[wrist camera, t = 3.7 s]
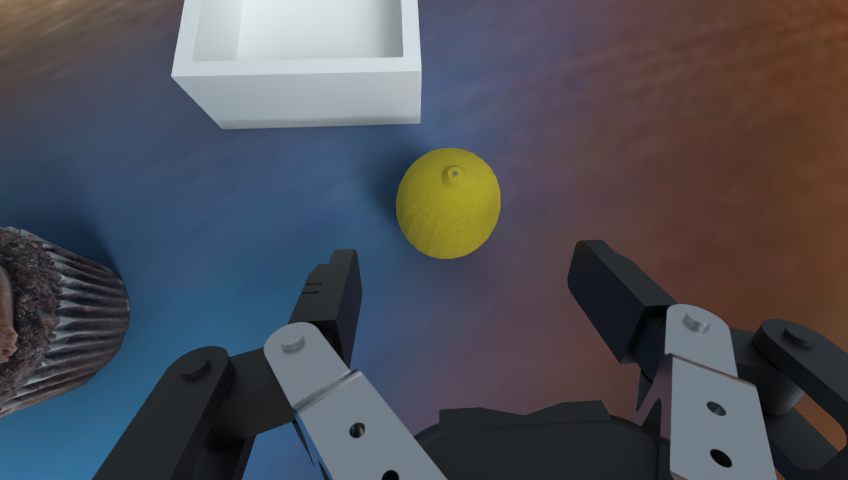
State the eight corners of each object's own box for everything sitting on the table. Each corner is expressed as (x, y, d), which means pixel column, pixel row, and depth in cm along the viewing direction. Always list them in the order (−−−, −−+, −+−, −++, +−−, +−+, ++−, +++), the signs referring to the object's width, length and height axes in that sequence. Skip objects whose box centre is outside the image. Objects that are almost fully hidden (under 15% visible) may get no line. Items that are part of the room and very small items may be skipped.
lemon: (417, 178, 22) (419, 100, 15) (493, 207, 22) (536, 142, 14) (385, 251, 21) (369, 206, 13) (466, 283, 21) (497, 256, 13)
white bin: (222, 129, 23) (171, 76, 18) (241, -21, 27) (202, -98, 22) (420, 123, 23) (421, 71, 19) (412, -23, 27) (411, -99, 22)
